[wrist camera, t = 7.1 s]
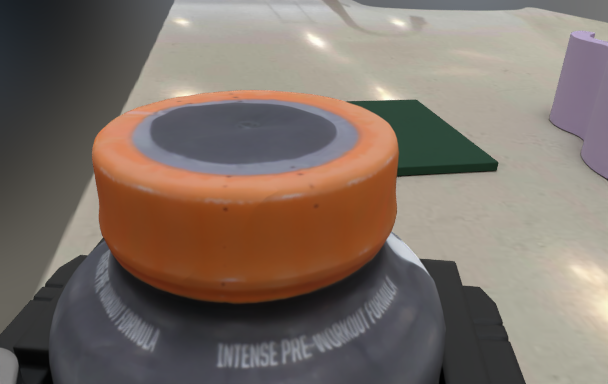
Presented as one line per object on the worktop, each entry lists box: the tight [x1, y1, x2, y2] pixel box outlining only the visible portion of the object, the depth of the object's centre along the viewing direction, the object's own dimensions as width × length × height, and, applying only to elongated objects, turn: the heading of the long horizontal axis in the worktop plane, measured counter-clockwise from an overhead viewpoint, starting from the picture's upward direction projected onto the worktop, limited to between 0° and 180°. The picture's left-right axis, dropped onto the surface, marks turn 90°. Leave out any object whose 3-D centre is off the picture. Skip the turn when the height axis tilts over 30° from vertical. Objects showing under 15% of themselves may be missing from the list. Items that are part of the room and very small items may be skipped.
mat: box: [347, 100, 498, 176], centre depth 38 cm, size 20×14×1 cm
